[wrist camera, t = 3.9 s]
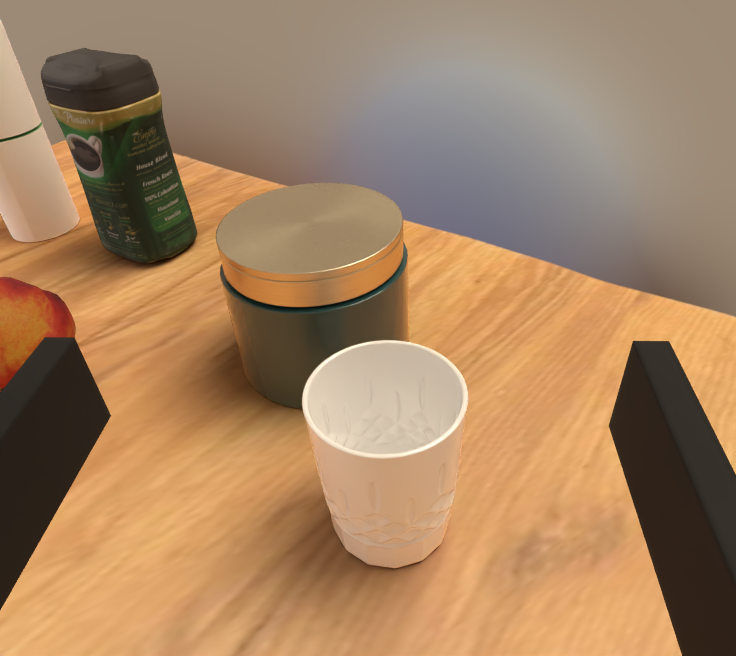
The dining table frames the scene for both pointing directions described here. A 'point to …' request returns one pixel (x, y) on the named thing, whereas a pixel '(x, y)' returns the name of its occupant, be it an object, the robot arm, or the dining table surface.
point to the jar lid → (311, 244)
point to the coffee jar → (121, 151)
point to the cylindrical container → (28, 162)
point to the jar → (312, 333)
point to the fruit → (28, 323)
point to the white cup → (387, 446)
